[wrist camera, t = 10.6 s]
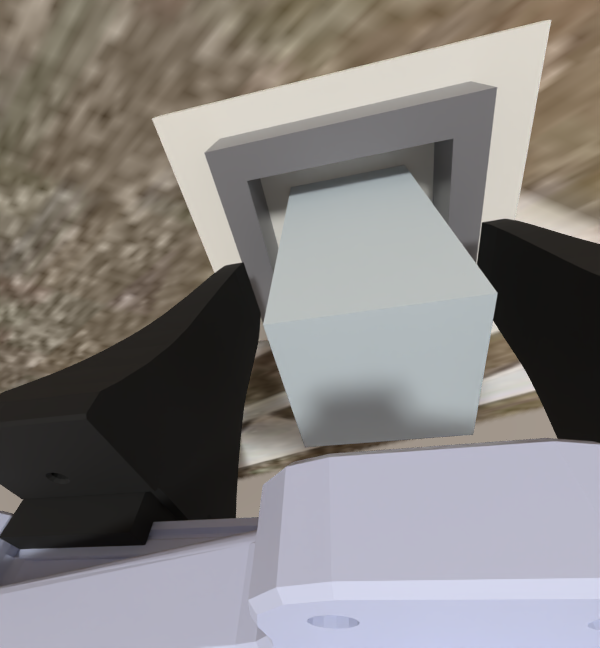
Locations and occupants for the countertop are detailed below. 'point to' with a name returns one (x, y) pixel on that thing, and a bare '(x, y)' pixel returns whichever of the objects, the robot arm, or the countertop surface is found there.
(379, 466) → the robot arm
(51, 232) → the countertop surface
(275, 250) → the dock
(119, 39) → the countertop surface
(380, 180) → the block
